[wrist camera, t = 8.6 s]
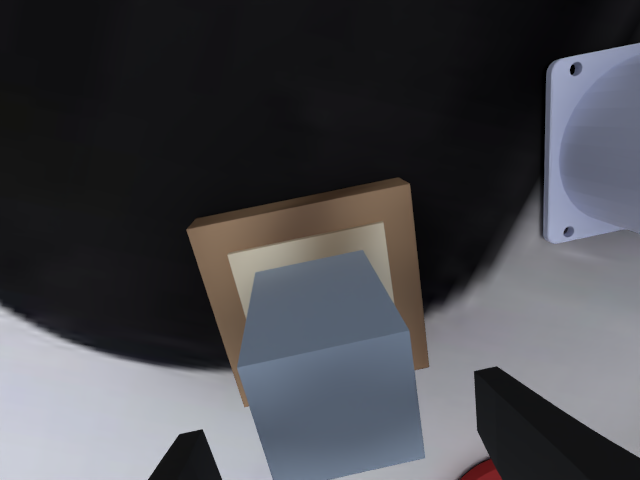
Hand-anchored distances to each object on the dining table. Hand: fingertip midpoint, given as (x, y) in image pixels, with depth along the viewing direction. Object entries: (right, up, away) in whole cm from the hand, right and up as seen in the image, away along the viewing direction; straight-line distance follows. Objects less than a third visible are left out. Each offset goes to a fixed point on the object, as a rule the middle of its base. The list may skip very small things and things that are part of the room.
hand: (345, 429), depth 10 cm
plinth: (-1, +3, +8) cm, 8 cm away
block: (-1, +2, +6) cm, 7 cm away
